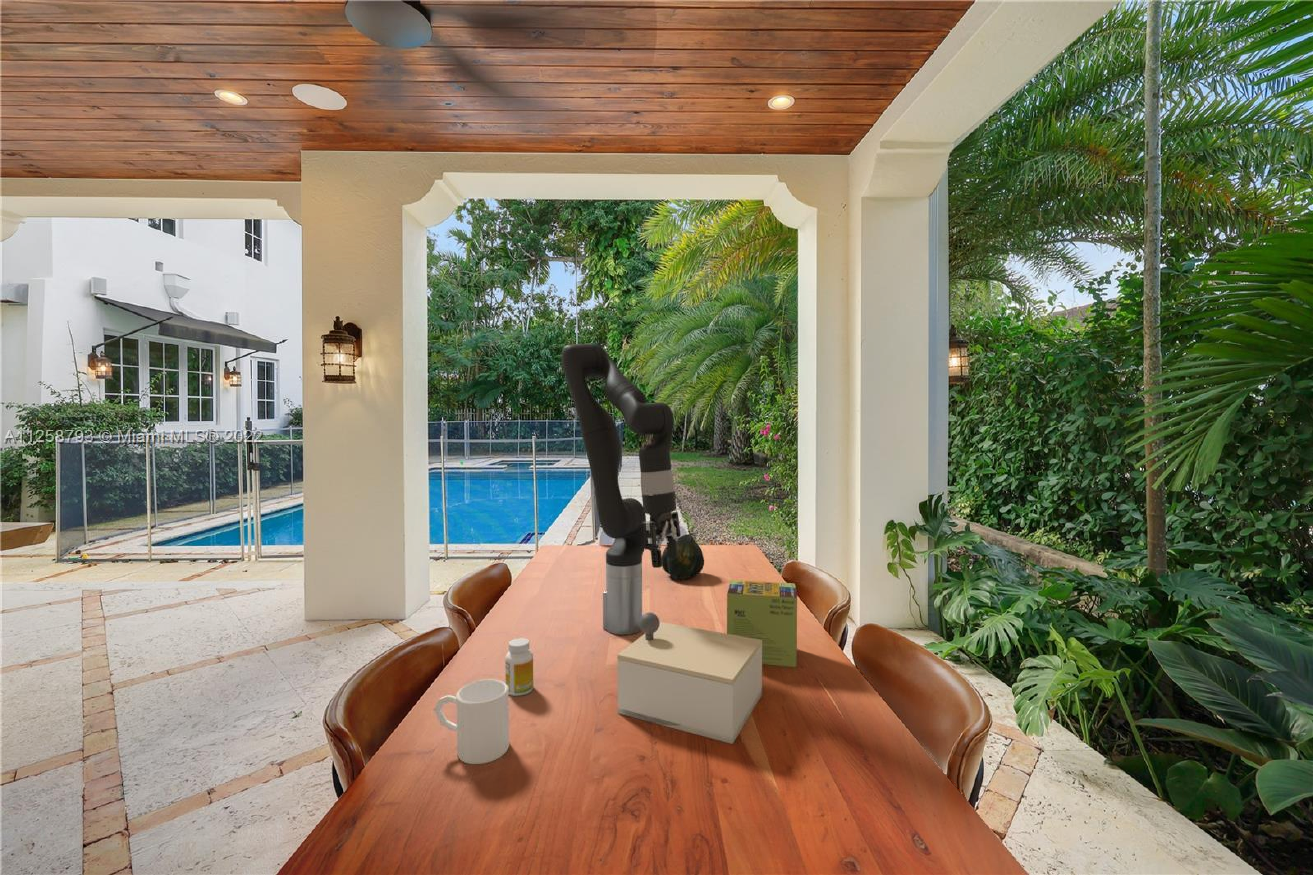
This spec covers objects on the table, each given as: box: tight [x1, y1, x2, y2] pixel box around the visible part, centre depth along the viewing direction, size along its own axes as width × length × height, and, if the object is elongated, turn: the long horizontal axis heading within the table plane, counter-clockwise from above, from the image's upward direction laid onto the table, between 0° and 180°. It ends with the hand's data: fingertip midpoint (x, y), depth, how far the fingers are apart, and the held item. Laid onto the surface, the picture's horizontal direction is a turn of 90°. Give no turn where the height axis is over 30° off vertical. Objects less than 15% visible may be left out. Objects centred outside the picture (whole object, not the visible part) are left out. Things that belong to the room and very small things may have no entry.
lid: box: [616, 612, 762, 684], centre depth 104 cm, size 22×18×6 cm
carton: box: [616, 645, 763, 745], centre depth 104 cm, size 22×18×10 cm
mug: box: [433, 678, 510, 765], centre depth 90 cm, size 8×12×10 cm
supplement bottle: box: [504, 637, 534, 697], centre depth 110 cm, size 5×5×10 cm
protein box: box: [726, 579, 798, 668], centre depth 126 cm, size 10×15×16 cm
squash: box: [661, 533, 705, 580], centre depth 188 cm, size 14×15×15 cm
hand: (665, 562), depth 125 cm, fingers open, 8 cm apart
